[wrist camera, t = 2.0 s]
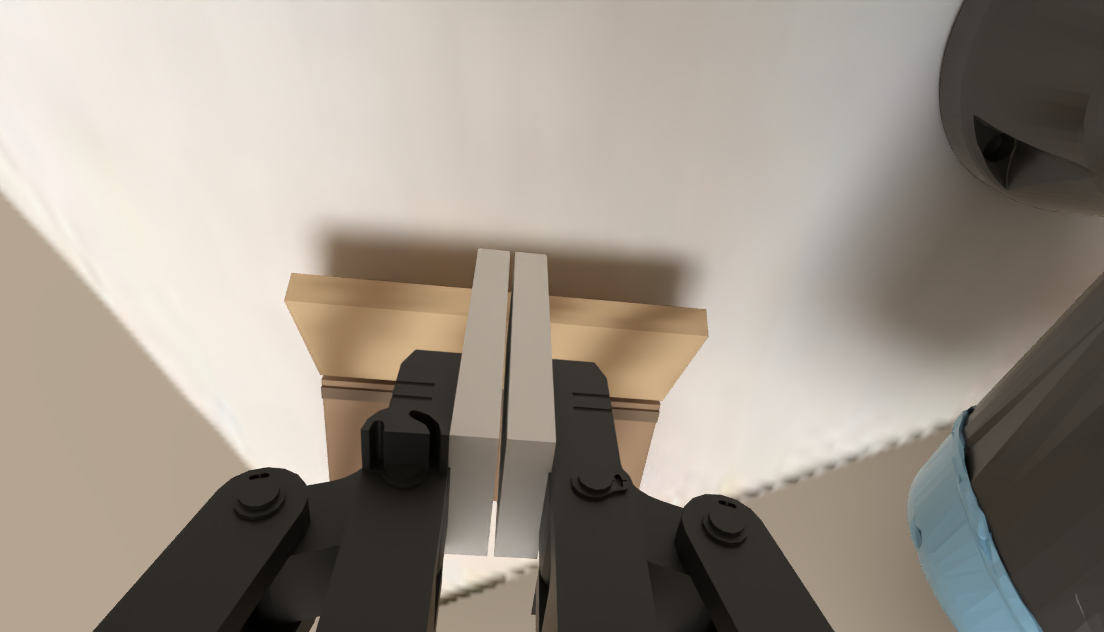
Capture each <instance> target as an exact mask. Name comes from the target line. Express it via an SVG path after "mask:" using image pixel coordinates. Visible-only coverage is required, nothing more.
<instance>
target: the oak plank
mask: <svg viewBox="0 0 1104 632" xmlns="http://www.w3.org/2000/svg"><path fill="white" fill-rule="evenodd" d="M471 293H472V289H468V288H457V287H445V286H434V285H422V284H411V283H400V282H388V281H377V280H365V279H354V278H343V277H331V276H320V275H308V274H297V273H291V277H290V281H289V285H288V288H287V292H286V296H285V300H284V301H285V303H286V305H287V307H288V309H289V311H290V314H291V316H292V318H293V320H294V322H295V324H296V326H297V328H298V330H299V332H300V334H301V336H302V338H303V340H304V342H305V344H306V347H307V349H308V351H309V353H310V355H311V357H312V359H313V361H314V363H315V365H316V367H317V369H318V371H319V373H320V375H327V376H340V377H353V378H367V379H380V380H393V381H396V379H397V376H398V372H399V369H400V365H401V363H402V362H403V361H404V360H405V359H406V358H407V357H408V356H409V355H410V354H411V353H412V352H413V351H414V350H415V349H417V350H430V351H442V352H454V353H462V351H463V345H464V338H465V332H466V325H467V319H468V312H469V306H470V299H471ZM510 299H511V292H508V297H507V314H506V331H505V348H504V366H503V383H502V389H503V388H504V370H505V352H506V339H507V329H508V319H509V309H510ZM549 309H550V329H551V349H552V359H560V360H573V361H585V362H595V364H596V365H597V366H598V367H599V369H600V370H601V371H602V373H603V374H604V375H605V376H606V378H607V382H608V388H609V394H610V397H619V398H632V399H645V400H658V401H662V400H663V399H664V398H665V396H666V395H667V394H668V392H669V391H670V389H671V388H672V387H673V385H674V384H675V382H676V381H677V380H678V378H679V377H680V375H681V374H682V373H683V371H684V370H685V368H686V367H687V366H688V364H689V363H690V361H691V360H692V359H693V357H694V356H695V355H696V353H697V352H698V350H699V349H700V348H701V346H702V345H703V343H704V342H705V341H706V339H707V338H708V325H707V314H706V309H696V308H684V307H673V306H662V305H650V304H639V303H627V302H616V301H605V300H593V299H582V298H570V297H559V296H549Z"/></svg>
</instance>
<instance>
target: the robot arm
mask: <svg viewBox="0 0 1104 632" xmlns="http://www.w3.org/2000/svg"><path fill="white" fill-rule="evenodd" d="M940 110H941V116H942V122H943V126H944V130H945V133H946V136H947V139H948V141H949V143H950V145H951V147H952V149H953V151H954V153H955V154H956V156H957V158H958V159H959V160H960V161H961V163H962V164H963V165H964V166H965V167H966V168H967V169H968V171H970V172H971V173H972V174H973V175H974V176H975V177H977V178H978V179H980V180H981V181H982V182H984V183H986V184H987V185H989V186H991V187H993V188H994V189H996V190H998V191H999V192H1001V193H1003V194H1004V195H1006V196H1008V197H1010V198H1012V199H1014V200H1016V201H1018V202H1021V203H1023V204H1027V205H1030V206H1033V207H1036V208H1040V209H1044V210H1050V211H1057V212H1066V213H1075V214H1084V215H1093V216H1102V217H1104V0H966V1H965V3H964V5H963V7H962V9H961V11H960V13H959V15H958V18H957V20H956V22H955V25H954V27H953V30H952V33H951V35H950V38H949V41H948V45H947V48H946V52H945V56H944V61H943V65H942V72H941V80H940ZM509 263H510V251H503V250H492V249H482V248H478V254H477V260H476V267H475V273H474V280H473V286H472V293H471V299H470V306H469V312H468V319H467V325H466V332H465V338H464V345H463V351H462V353H454V352H442V351H430V350H417V349H415V350H414V351H413V352H412V353H411V354H410V355H409V356H408V357H407V358H406V359H405V360H404V361H403V362H402V363H401V365H400V369H399V372H398V376H397V379H396V384H395V386H394V390H393V393H392V398H391V400H390V404H389V407H388V408H386V409H382V410H379V411H378V412H376V413H375V414H374V415H372V416H371V417H369V418H368V419H367V420H366V422H365V423H364V425H363V427H362V428H361V454H362V468H361V469H360V470H358V471H357V472H355V473H353V474H351V475H349V476H347V477H344V478H341V479H338V480H334V481H330V482H324V483H319V484H313V485H308V486H306V484H305V482H304V481H303V480H302V479H301V478H300V476H299V475H297V474H295V473H293V472H291V471H288V470H286V469H282V468H270V467H266V468H260V469H255V470H249V471H247V472H245V473H242V474H240V475H238V476H236V477H233V478H232V479H230V480H229V481H228V482H227V483H225V484H224V485H223V486H222V487H221V488H219V489H218V490H217V492H215V494H214V495H213V496H212V497H211V498H210V499H209V500H208V502H207V503H206V504H205V505H204V506H203V507H202V508H201V510H200V511H199V512H198V513H197V514H196V515H195V516H194V517H193V518H192V520H191V521H190V522H189V523H188V524H187V525H186V527H185V528H184V529H183V530H182V531H181V532H180V533H179V534H178V535H177V537H176V538H175V539H174V540H173V541H172V542H171V544H170V545H169V546H168V547H167V548H166V549H165V550H164V551H163V552H162V554H161V555H160V556H159V557H158V558H157V559H156V560H155V561H154V563H153V564H152V565H151V566H150V567H149V568H148V570H147V571H146V572H145V573H144V574H143V575H142V576H141V578H139V580H138V581H137V582H136V583H135V584H134V585H133V586H132V588H131V589H130V590H129V591H128V592H127V593H126V594H125V595H124V597H123V598H122V599H121V600H120V601H119V602H118V603H117V604H116V606H115V607H114V608H113V609H112V610H111V611H110V612H109V614H108V615H107V616H106V617H105V618H104V619H103V621H101V623H100V624H99V625H98V626H97V627H96V628H95V629H94V631H93V632H309V631H310V629H311V627H312V625H313V624H314V622H315V619H316V617H318V616H320V619H319V622H318V625H317V629H316V632H436V626H437V617H438V610H439V601H440V593H441V585H442V569H443V557H444V554H460V555H478V556H487V552H488V542H489V533H490V523H491V513H492V504H493V494H494V484H495V475H496V465H497V455H498V446H499V434H500V417H501V400H502V383H503V366H504V348H505V331H506V314H507V297H508V280H509ZM609 397H610V394H609V388H608V382H607V378H606V376H605V375H604V374H603V373H602V371H601V370H600V369H599V367H598V366H597V365H596V364H595V362H585V361H573V360H560V359H552V349H551V329H550V309H549V288H548V268H547V255H545V254H534V253H524V252H515V260H514V270H513V280H512V290H511V299H510V309H509V319H508V329H507V339H506V352H505V370H504V388H503V406H502V424H501V441H500V459H499V477H498V495H497V513H496V531H495V549H494V556H496V557H514V558H532V559H537V557H538V550H539V571H538V578H537V583H536V589H535V595H534V601H533V607H532V615H536V632H834V630H833V629H832V627H831V626H830V624H829V623H828V622H827V620H826V618H825V617H824V615H823V614H822V612H821V611H820V609H819V607H818V606H817V604H816V603H815V601H814V600H813V599H812V597H811V595H810V594H809V592H808V591H807V589H806V588H805V586H804V585H803V583H802V582H801V580H800V579H799V577H798V576H797V574H796V572H795V571H794V569H793V568H792V566H791V565H790V563H789V562H788V560H787V559H786V557H785V556H784V554H783V553H782V551H781V550H780V548H779V547H778V545H777V544H776V542H775V540H774V539H773V537H772V536H771V534H770V533H769V531H768V530H767V528H766V527H765V525H764V524H763V522H762V521H761V520H760V519H759V517H758V516H757V515H756V514H755V513H754V512H753V511H752V510H751V509H750V508H748V507H747V506H745V505H744V504H742V503H741V502H739V501H737V500H735V499H732V498H729V497H726V496H723V495H714V494H704V495H701V496H698V497H695V498H692V499H691V500H690V501H689V502H688V503H687V504H686V505H685V506H684V508H681V507H678V506H675V505H672V504H669V503H666V502H663V501H660V500H658V499H655V498H653V497H651V496H648V495H647V494H645V493H644V492H642V491H640V490H639V489H638V488H636V487H635V486H634V485H633V482H632V480H631V478H630V476H629V475H628V474H627V473H626V472H625V471H624V470H623V468H622V465H621V461H620V455H619V449H618V443H617V437H616V431H615V425H614V419H613V413H612V406H611V400H610V399H609ZM907 517H908V524H909V528H910V534H911V539H912V541H913V543H914V546H915V548H916V550H917V552H918V554H919V562H920V565H921V568H922V571H923V573H924V575H925V577H926V579H927V581H928V583H929V585H930V587H931V589H932V591H933V592H934V594H935V596H936V598H937V600H938V602H939V603H940V605H941V606H942V608H943V610H944V612H945V613H946V615H947V616H948V618H949V619H950V621H951V622H952V624H953V625H954V627H955V628H956V630H957V631H958V632H1104V272H1103V273H1102V274H1101V275H1100V276H1099V277H1098V278H1097V279H1096V280H1095V281H1094V282H1093V284H1092V285H1091V286H1090V287H1089V288H1088V289H1087V290H1086V291H1085V292H1084V293H1083V294H1082V295H1081V296H1080V297H1079V298H1078V299H1077V300H1076V301H1075V302H1074V304H1073V305H1072V306H1071V307H1070V308H1069V309H1068V310H1067V311H1066V312H1065V313H1064V314H1063V315H1062V316H1061V317H1060V318H1059V319H1058V320H1057V321H1056V322H1055V323H1054V325H1053V326H1052V327H1051V328H1050V329H1049V330H1048V331H1047V332H1046V333H1045V334H1044V335H1043V336H1042V337H1041V338H1040V339H1039V340H1038V341H1037V342H1036V343H1035V345H1034V346H1033V347H1032V348H1031V349H1030V350H1029V351H1028V352H1027V353H1026V354H1025V355H1024V356H1023V357H1022V358H1021V359H1020V360H1019V361H1018V362H1017V363H1016V364H1015V366H1014V367H1013V368H1012V369H1011V370H1010V371H1009V372H1008V373H1007V374H1006V375H1005V376H1004V377H1003V378H1002V379H1001V380H1000V381H999V382H998V383H997V384H996V386H995V387H994V388H993V389H992V390H991V391H990V392H989V393H988V394H987V395H986V396H985V397H984V398H983V399H982V400H981V401H980V402H979V403H978V404H977V405H975V406H972V407H970V408H969V409H968V410H965V411H963V412H962V413H961V414H960V415H959V416H958V417H957V419H956V421H955V423H954V425H953V430H952V433H951V434H950V435H949V436H948V437H947V439H946V440H945V441H944V442H943V443H942V444H941V446H940V447H939V448H938V449H937V450H936V452H935V453H934V454H933V455H932V456H931V458H930V459H929V460H928V461H927V462H926V463H925V465H924V466H923V467H922V468H921V469H920V471H919V472H918V474H917V475H916V477H915V479H914V481H913V483H912V486H911V488H910V492H909V496H908V507H907Z"/></svg>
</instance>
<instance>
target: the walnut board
mask: <svg viewBox="0 0 1104 632" xmlns="http://www.w3.org/2000/svg"><path fill="white" fill-rule="evenodd" d="M395 384H396V381H393V380H380V379H367V378H353V377H340V376H327V375H323V378H322V386H321V393H322V398H323V404H324V417H325V429H326V441H327V454H328V466H329V479H330V481H334V480H338V479H341V478H344V477H347V476H349V475H351V474H353V473H355V472H357V471H358V470H360V469H361V468H362V454H361V428H362V427H363V425H364V423H365V422H366V420H367V419H368V418H369V417H371V416H372V415H374V414H375V413H376V412H378V411H379V410H382V409H386V408H388V407H389V404H390V400H391V398H392V393H393V390H394V386H395ZM609 399H610V400H611V406H612V413H613V419H614V425H615V431H616V437H617V443H618V449H619V455H620V461H621V465H622V468H623V470H624V471H625V472H626V473H627V474H628V475H629V476H630V478H631V480H632V482H633V485H634V486H635V487H636V488H638V489H639V486H640V482H641V478H642V474H643V471H644V467H645V463H646V459H647V455H648V451H649V447H650V443H651V439H652V436H653V432H654V428H655V424H656V423H657V420H658V417H659V413H660V412H659V408H660V402H659V401H658V400H645V399H632V398H619V397H609ZM502 406H503V389H502V400H501V417H500V434H499V446H498V455H497V465H496V475H495V484H494V494H493V501H497V495H498V477H499V459H500V441H501V424H502Z"/></svg>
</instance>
